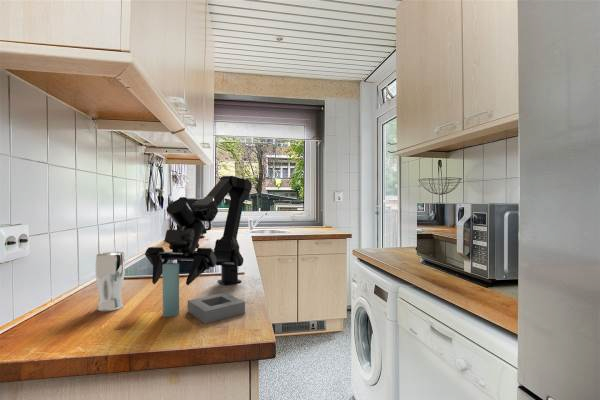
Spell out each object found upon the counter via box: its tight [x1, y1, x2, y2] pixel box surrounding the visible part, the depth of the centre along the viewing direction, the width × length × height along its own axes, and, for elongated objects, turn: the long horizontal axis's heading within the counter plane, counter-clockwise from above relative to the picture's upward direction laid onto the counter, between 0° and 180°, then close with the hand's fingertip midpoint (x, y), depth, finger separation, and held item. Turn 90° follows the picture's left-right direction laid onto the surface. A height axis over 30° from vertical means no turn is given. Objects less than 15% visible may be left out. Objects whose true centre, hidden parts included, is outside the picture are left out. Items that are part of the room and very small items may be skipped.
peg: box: [162, 262, 180, 318], centre depth 83 cm, size 4×4×13 cm
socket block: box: [187, 292, 246, 325], centre depth 84 cm, size 11×11×3 cm
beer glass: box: [95, 251, 126, 313], centre depth 88 cm, size 7×7×15 cm
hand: (170, 283), depth 83 cm, fingers open, 9 cm apart
